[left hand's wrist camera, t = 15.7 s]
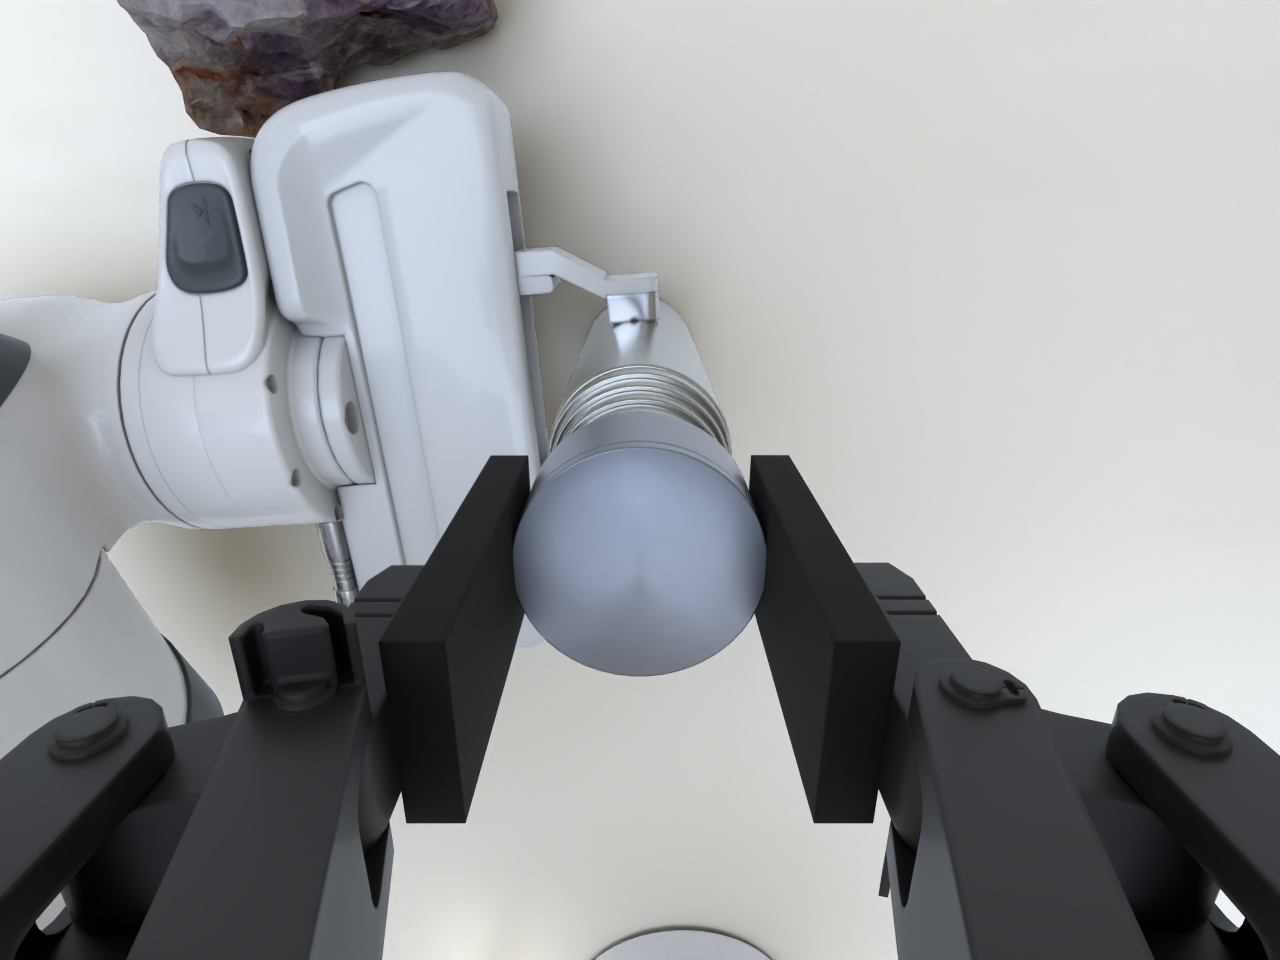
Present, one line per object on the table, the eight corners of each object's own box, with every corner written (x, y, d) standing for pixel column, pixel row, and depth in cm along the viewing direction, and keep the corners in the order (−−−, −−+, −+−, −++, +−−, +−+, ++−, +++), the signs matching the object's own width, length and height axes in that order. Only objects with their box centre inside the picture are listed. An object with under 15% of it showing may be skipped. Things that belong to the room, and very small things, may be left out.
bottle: (612, 416, 33) (577, 696, 14) (569, 321, 31) (463, 493, 12) (707, 376, 32) (804, 615, 13) (668, 278, 31) (714, 390, 12)
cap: (783, 563, 15) (807, 620, 13) (592, 644, 16) (585, 710, 14) (694, 372, 13) (704, 401, 11) (487, 470, 14) (460, 515, 12)
